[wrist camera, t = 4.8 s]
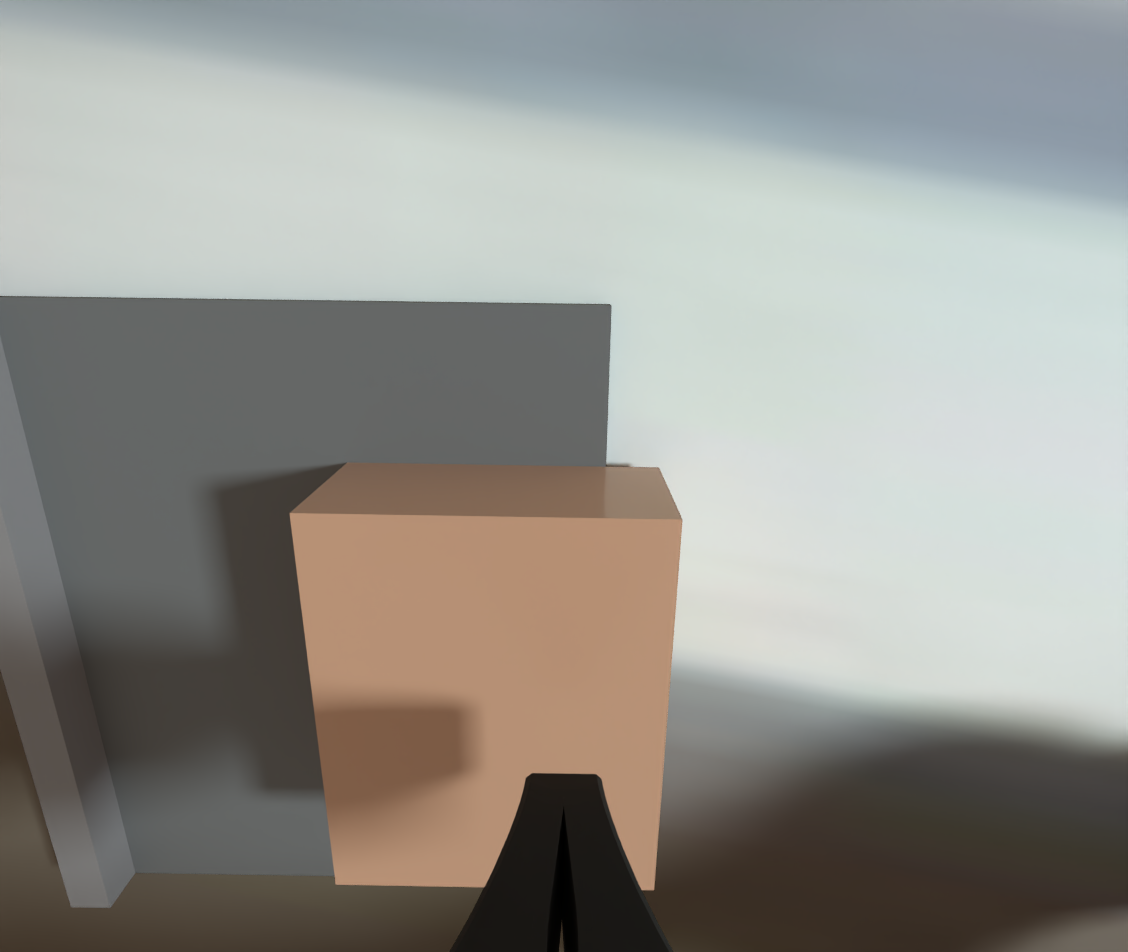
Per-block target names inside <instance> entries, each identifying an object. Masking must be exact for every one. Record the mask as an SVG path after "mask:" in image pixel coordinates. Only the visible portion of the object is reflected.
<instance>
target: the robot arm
mask: <svg viewBox="0 0 1128 952" xmlns="http://www.w3.org/2000/svg"><path fill="white" fill-rule="evenodd" d="M561 922H562V927H563V941H564V952H673V950H672V948H671V947H670V945H669V943H668V941H667V939H666V937H665V936H664V934H663V932H662V930H661V928H660V926H659V924H658V922H657V920H656V918H655V916H654V914H653V912H652V910H651V908H650V906H649V904H648V902H647V901H646V898H645V896H644V894H643V892H642V890H641V888H640V886H639V884H638V881H637V879H636V877H635V875H634V872H633V870H632V868H631V865H630V863H629V861H628V858H627V856H626V854H625V851H624V849H623V846H622V844H621V841H620V839H619V836H618V834H617V831H616V828H615V825H614V822H613V820H612V817H611V813H610V810H609V807H608V804H607V800H606V797H605V793H604V788H603V783H602V779H601V778H600V777H599V776H598V775H597V774H561V773H531V774H530V775H529V776H527V777H526V779H525V784H524V789H523V793H522V796H521V800H520V803H519V806H518V809H517V812H516V815H515V818H514V821H513V823H512V826H511V829H510V831H509V834H508V836H507V839H506V841H505V843H504V846H503V848H502V850H501V852H500V855H499V857H498V859H497V862H496V864H495V866H494V869H493V871H492V873H491V875H490V877H489V879H488V881H487V883H486V885H485V887H484V889H483V891H482V893H481V895H480V897H479V899H478V901H477V903H476V905H475V907H474V909H473V911H472V913H471V915H470V916H469V918H468V920H467V922H466V924H465V926H464V927H463V929H462V931H461V933H460V934H459V936H458V938H457V940H456V941H455V943H454V945H453V947H452V948H451V950H450V952H559V943H560V933H561Z"/></svg>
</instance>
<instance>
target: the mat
mask: <svg viewBox="0 0 1128 952" xmlns="http://www.w3.org/2000/svg"><path fill="white" fill-rule="evenodd" d="M610 333H611V305H610V304H553V303H479V302H405V301H330V300H256V299H182V298H108V297H33V296H0V670H1V674H2V677H3V681H4V684H5V687H6V691H7V694H8V697H9V701H10V704H11V707H12V711H13V714H14V717H15V721H16V724H17V727H18V731H19V734H20V737H21V741H22V744H23V748H24V751H25V754H26V758H27V761H28V764H29V768H30V771H31V774H32V778H33V781H34V784H35V788H36V791H37V794H38V798H39V801H40V804H41V808H42V811H43V814H44V818H45V821H46V825H47V828H48V831H49V835H50V838H51V841H52V845H53V848H54V851H55V855H56V858H57V861H58V865H59V868H60V871H61V875H62V878H63V881H64V885H65V888H66V892H67V895H68V898H69V902H70V905H71V907H86V908H111V906H112V905H113V903H114V902H115V901H116V899H117V898H118V896H119V895H120V894H121V892H122V891H123V889H124V888H125V887H126V885H127V884H128V882H129V881H130V880H131V878H132V877H133V876H134V874H135V873H174V874H236V875H298V876H335V874H334V866H333V858H332V850H331V842H330V834H329V826H328V818H327V810H326V802H325V794H324V786H323V778H322V770H321V762H320V754H319V746H318V738H317V730H316V722H315V714H314V706H313V698H312V690H311V682H310V674H309V666H308V658H307V649H306V641H305V633H304V625H303V617H302V609H301V601H300V593H299V585H298V577H297V569H296V561H295V553H294V545H293V537H292V529H291V521H290V512H291V511H293V510H294V509H295V508H296V507H297V506H298V505H299V504H301V503H302V502H303V501H304V500H305V499H306V498H307V497H309V496H310V495H311V494H312V493H313V492H314V491H315V490H317V489H318V488H319V487H320V486H321V485H322V484H323V483H325V482H326V481H327V480H328V479H329V478H330V477H331V476H333V475H334V474H335V473H336V472H337V471H338V470H339V469H341V468H342V467H343V466H344V465H345V464H346V463H347V462H349V463H411V464H472V465H534V466H596V467H606V450H607V421H608V392H609V362H610Z"/></svg>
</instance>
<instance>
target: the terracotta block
mask: <svg viewBox="0 0 1128 952" xmlns="http://www.w3.org/2000/svg"><path fill="white" fill-rule="evenodd" d="M290 521H291V529H292V537H293V545H294V553H295V561H296V569H297V577H298V585H299V593H300V601H301V609H302V617H303V625H304V633H305V641H306V649H307V658H308V666H309V674H310V682H311V690H312V698H313V706H314V714H315V722H316V730H317V738H318V746H319V754H320V762H321V770H322V778H323V786H324V794H325V802H326V810H327V818H328V826H329V834H330V842H331V850H332V858H333V866H334V874H335V882H336V885H386V886H442V887H485V885H486V883H487V881H488V879H489V877H490V875H491V873H492V871H493V869H494V866H495V864H496V862H497V859H498V857H499V855H500V852H501V850H502V848H503V846H504V843H505V841H506V839H507V836H508V834H509V831H510V829H511V826H512V823H513V821H514V818H515V815H516V812H517V809H518V806H519V803H520V800H521V796H522V793H523V789H524V784H525V779H526V777H527V776H529V775H530V774H531V773H561V774H597V775H598V776H599V777H600V778H601V779H602V783H603V788H604V793H605V797H606V800H607V804H608V807H609V810H610V813H611V817H612V820H613V822H614V825H615V828H616V831H617V834H618V836H619V839H620V841H621V844H622V846H623V849H624V851H625V854H626V856H627V858H628V861H629V863H630V865H631V868H632V870H633V872H634V875H635V877H636V879H637V881H638V884H639V886H640V888H641V890H654V884H655V871H656V858H657V845H658V832H659V819H660V806H661V793H662V780H663V767H664V754H665V741H666V728H667V715H668V701H669V688H670V675H671V662H672V649H673V636H674V623H675V610H676V597H677V584H678V571H679V558H680V545H681V532H682V518H681V515H680V513H679V511H678V509H677V506H676V504H675V502H674V500H673V498H672V495H671V493H670V491H669V489H668V487H667V484H666V482H665V480H664V478H663V476H662V473H661V471H660V469H659V468H658V467H596V466H534V465H472V464H411V463H349V462H347V463H346V464H345V465H344V466H343V467H342V468H341V469H339V470H338V471H337V472H336V473H335V474H334V475H333V476H331V477H330V478H329V479H328V480H327V481H326V482H325V483H323V484H322V485H321V486H320V487H319V488H318V489H317V490H315V491H314V492H313V493H312V494H311V495H310V496H309V497H307V498H306V499H305V500H304V501H303V502H302V503H301V504H299V505H298V506H297V507H296V508H295V509H294V510H293V511H291V512H290Z"/></svg>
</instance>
